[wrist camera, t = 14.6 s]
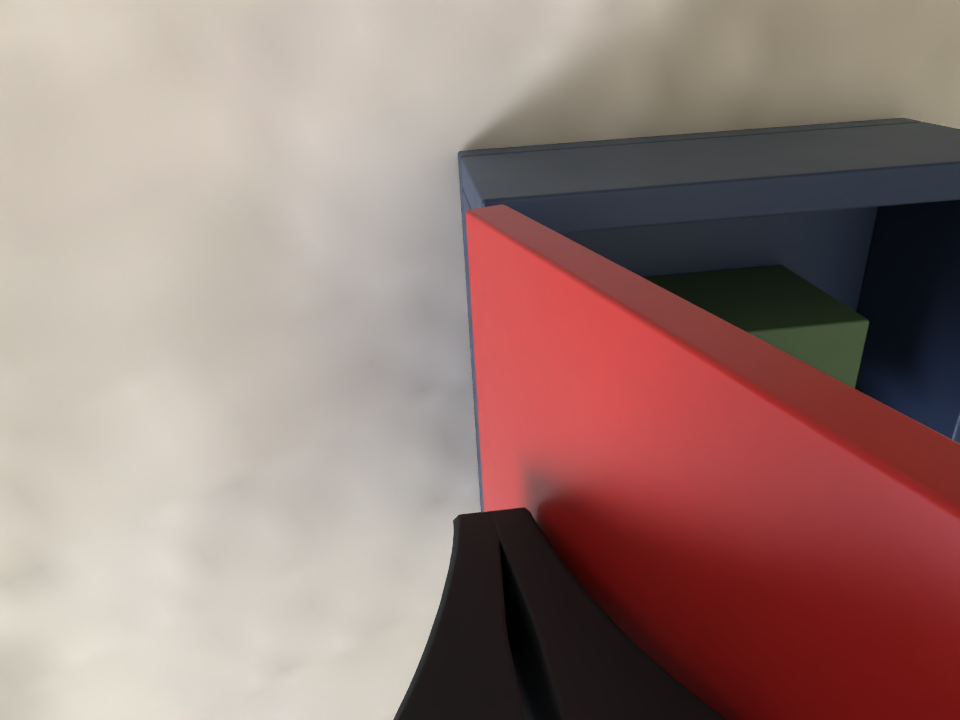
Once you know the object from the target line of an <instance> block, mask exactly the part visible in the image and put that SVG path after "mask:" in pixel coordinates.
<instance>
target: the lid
mask: <svg viewBox="0 0 960 720" xmlns="http://www.w3.org/2000/svg"><path fill="white" fill-rule="evenodd" d="M466 228H467V244H468V260H469V276H470V292H471V308H472V324H473V340H474V356H475V372H476V388H477V404H478V420H479V436H480V451H481V467H482V483H483V499H484V512H487V511H496V510H504V509H513V508H522V507H525V508H526V509H527V510H529V511H530V512H531V514H532V516H533V518H534V519H535V521H536V523H537V524H538V526H539V528H540V529H541V531H542V532H543V534H544V535H545V537H546V538H547V540H548V541H549V543H550V544H551V546H552V547H553V549H554V550H555V551H556V553H557V554H558V556H559V557H560V558H561V560H562V561H563V562H564V564H565V565H566V566H567V568H568V569H569V570H570V571H571V573H572V574H573V575H574V576H575V577H576V579H577V580H578V581H579V582H580V584H581V585H582V586H583V587H584V589H585V590H586V591H587V592H588V593H589V595H590V596H591V597H592V598H593V599H594V600H595V602H596V603H597V604H598V605H599V606H600V607H601V608H602V609H603V610H604V612H605V613H606V614H607V615H608V616H609V617H610V618H611V619H612V620H613V621H614V622H615V623H616V624H617V626H618V627H619V628H620V629H621V630H622V631H623V632H624V633H625V634H626V635H627V636H628V637H629V638H630V639H631V640H632V641H633V642H634V643H635V644H636V645H638V646H639V647H640V648H641V649H642V650H643V651H644V652H645V653H646V654H647V655H648V656H649V657H650V658H651V659H652V660H654V661H655V662H656V663H657V664H658V665H659V666H660V667H662V668H663V669H664V670H665V671H666V672H667V673H668V674H670V675H671V676H672V677H673V678H674V679H675V680H676V681H678V682H679V683H680V684H681V685H683V686H684V687H685V688H687V689H688V690H689V691H690V692H692V693H693V694H694V695H696V696H697V697H698V698H699V699H701V700H702V701H703V702H705V703H706V704H707V705H708V706H710V707H711V708H712V709H714V710H715V711H716V712H718V713H719V714H720V715H721V716H723V717H724V718H725V719H727V720H960V443H958V442H956V441H954V440H952V439H950V438H948V437H946V436H944V435H942V434H940V433H939V432H937V431H935V430H933V429H931V428H929V427H927V426H925V425H923V424H921V423H919V422H918V421H916V420H914V419H912V418H910V417H908V416H906V415H904V414H902V413H900V412H898V411H897V410H895V409H893V408H891V407H889V406H887V405H885V404H883V403H881V402H879V401H878V400H876V399H874V398H872V397H870V396H868V395H866V394H864V393H862V392H860V391H858V390H857V389H855V388H853V387H851V386H849V385H847V384H845V383H843V382H841V381H839V380H837V379H836V378H834V377H832V376H830V375H828V374H826V373H824V372H822V371H820V370H818V369H816V368H815V367H813V366H811V365H809V364H807V363H805V362H803V361H801V360H799V359H797V358H796V357H794V356H792V355H790V354H788V353H786V352H784V351H782V350H780V349H778V348H776V347H775V346H773V345H771V344H769V343H767V342H765V341H763V340H761V339H759V338H757V337H755V336H754V335H752V334H750V333H748V332H746V331H744V330H742V329H740V328H738V327H736V326H734V325H733V324H731V323H729V322H727V321H725V320H723V319H721V318H719V317H717V316H715V315H714V314H712V313H710V312H708V311H706V310H704V309H702V308H700V307H698V306H696V305H694V304H693V303H691V302H689V301H687V300H685V299H683V298H681V297H679V296H677V295H675V294H673V293H672V292H670V291H668V290H666V289H664V288H662V287H660V286H658V285H656V284H654V283H652V282H651V281H649V280H647V279H645V278H643V277H641V276H639V275H637V274H635V273H633V272H632V271H630V270H628V269H626V268H624V267H622V266H620V265H618V264H616V263H614V262H612V261H611V260H609V259H607V258H605V257H603V256H601V255H599V254H597V253H595V252H593V251H591V250H590V249H588V248H586V247H584V246H582V245H580V244H578V243H576V242H574V241H572V240H570V239H569V238H567V237H565V236H563V235H561V234H559V233H557V232H555V231H553V230H551V229H550V228H548V227H546V226H544V225H542V224H540V223H538V222H536V221H534V220H532V219H530V218H529V217H527V216H525V215H523V214H521V213H519V212H517V211H515V210H513V209H511V208H509V207H508V206H506V205H503V204H501V205H495V206H489V207H482V208H476V209H469V210H468V211H466Z"/></svg>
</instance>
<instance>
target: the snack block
mask: <svg viewBox="0 0 960 720" xmlns="http://www.w3.org/2000/svg"><path fill="white" fill-rule="evenodd" d="M644 278H645V279H647V280H649V281H651V282H652V283H654V284H656V285H658V286H660V287H662V288H664V289H666V290H668V291H670V292H672V293H673V294H675V295H677V296H679V297H681V298H683V299H685V300H687V301H689V302H691V303H693V304H694V305H696V306H698V307H700V308H702V309H704V310H706V311H708V312H710V313H712V314H714V315H715V316H717V317H719V318H721V319H723V320H725V321H727V322H729V323H731V324H733V325H734V326H736V327H738V328H740V329H742V330H744V331H746V332H748V333H750V334H752V335H754V336H755V337H757V338H759V339H761V340H763V341H765V342H767V343H769V344H771V345H773V346H775V347H776V348H778V349H780V350H782V351H784V352H786V353H788V354H790V355H792V356H794V357H796V358H797V359H799V360H801V361H803V362H805V363H807V364H809V365H811V366H813V367H815V368H816V369H818V370H820V371H822V372H824V373H826V374H828V375H830V376H832V377H834V378H836V379H837V380H839V381H841V382H843V383H845V384H847V385H849V386H851V387H853V388H855V385H856V381H857V376H858V372H859V367H860V363H861V358H862V353H863V349H864V344H865V340H866V335H867V331H868V326H869V320H868V319H866V318H865V317H863V316H862V315H860V314H858V313H857V312H855V311H854V310H852V309H851V308H849V307H848V306H846V305H844V304H843V303H841V302H840V301H838V300H837V299H835V298H833V297H832V296H830V295H829V294H827V293H826V292H824V291H822V290H821V289H819V288H818V287H816V286H815V285H813V284H812V283H810V282H808V281H807V280H805V279H804V278H802V277H801V276H799V275H797V274H796V273H794V272H793V271H791V270H790V269H788V268H787V267H785V266H783V265H776V266H765V267H754V268H743V269H732V270H721V271H710V272H699V273H688V274H677V275H666V276H655V277H644Z"/></svg>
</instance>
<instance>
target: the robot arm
mask: <svg viewBox="0 0 960 720" xmlns="http://www.w3.org/2000/svg"><path fill="white" fill-rule="evenodd" d="M453 523H454V537H453V547H452V554H451V559H450V565H449V570H448V574H447V578H446V582H445V586H444V590H443V594H442V598H441V602H440V605H439V609H438V612H437V615H436V618H435V621H434V624H433V627H432V630H431V633H430V636H429V639H428V642H427V644H426V647H425V650H424V652H423V655H422V657H421V660H420V662H419V665H418V667H417V670H416V672H415V674H414V677H413V679H412V681H411V684H410V686H409V688H408V690H407V693H406V695H405V697H404V699H403V701H402V703H401V705H400V707H399V709H398V711H397V713H396V715H395V717H394V719H393V720H727V719H725V718H724V717H723V716H721V715H720V714H719V713H718V712H716V711H715V710H714V709H712V708H711V707H710V706H708V705H707V704H706V703H705V702H703V701H702V700H701V699H699V698H698V697H697V696H696V695H694V694H693V693H692V692H690V691H689V690H688V689H687V688H685V687H684V686H683V685H681V684H680V683H679V682H678V681H676V680H675V679H674V678H673V677H672V676H671V675H670V674H668V673H667V672H666V671H665V670H664V669H663V668H662V667H660V666H659V665H658V664H657V663H656V662H655V661H654V660H652V659H651V658H650V657H649V656H648V655H647V654H646V653H645V652H644V651H643V650H642V649H641V648H640V647H639V646H638V645H636V644H635V643H634V642H633V641H632V640H631V639H630V638H629V637H628V636H627V635H626V634H625V633H624V632H623V631H622V630H621V629H620V628H619V627H618V626H617V624H616V623H615V622H614V621H613V620H612V619H611V618H610V617H609V616H608V615H607V614H606V613H605V612H604V610H603V609H602V608H601V607H600V606H599V605H598V604H597V603H596V602H595V600H594V599H593V598H592V597H591V596H590V595H589V593H588V592H587V591H586V590H585V589H584V587H583V586H582V585H581V584H580V582H579V581H578V580H577V579H576V577H575V576H574V575H573V574H572V573H571V571H570V570H569V569H568V568H567V566H566V565H565V564H564V562H563V561H562V560H561V558H560V557H559V556H558V554H557V553H556V551H555V550H554V549H553V547H552V546H551V544H550V543H549V541H548V540H547V538H546V537H545V535H544V534H543V532H542V531H541V529H540V528H539V526H538V524H537V523H536V521H535V519H534V518H533V516H532V514H531V512H530V511H529V510H527V509H526V508H525V507H522V508H513V509H504V510H496V511H487V512H479V513H470V514H461V515H458V516H457V517H456V518H455V519H454V520H453Z"/></svg>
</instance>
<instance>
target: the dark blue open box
mask: <svg viewBox="0 0 960 720" xmlns="http://www.w3.org/2000/svg"><path fill="white" fill-rule="evenodd" d="M458 164H459V179H460V194H461V210H462V225H463V240H464V256H465V271H466V287H467V302H468V317H469V333H470V348H471V363H472V379H473V394H474V409H475V425H476V440H477V456H478V471H479V486H480V502H481V512H484V499H483V483H482V467H481V451H480V436H479V420H478V404H477V388H476V372H475V356H474V340H473V324H472V308H471V292H470V276H469V260H468V244H467V228H466V211H468V210H469V209H476V208H482V207H489V206H495V205H501V204H503V205H506V206H508V207H509V208H511V209H513V210H515V211H517V212H519V213H521V214H523V215H525V216H527V217H529V218H530V219H532V220H534V221H536V222H538V223H540V224H542V225H544V226H546V227H548V228H550V229H551V230H553V231H555V232H557V233H559V234H561V235H563V236H565V237H567V238H569V239H570V240H572V241H574V242H576V243H578V244H580V245H582V246H584V247H586V248H588V249H590V250H591V251H593V252H595V253H597V254H599V255H601V256H603V257H605V258H607V259H609V260H611V261H612V262H614V263H616V264H618V265H620V266H622V267H624V268H626V269H628V270H630V271H632V272H633V273H635V274H637V275H639V276H641V277H643V278H644V277H655V276H666V275H677V274H688V273H699V272H710V271H721V270H732V269H743V268H754V267H765V266H776V265H783V266H785V267H787V268H788V269H790V270H791V271H793V272H794V273H796V274H797V275H799V276H801V277H802V278H804V279H805V280H807V281H808V282H810V283H812V284H813V285H815V286H816V287H818V288H819V289H821V290H822V291H824V292H826V293H827V294H829V295H830V296H832V297H833V298H835V299H837V300H838V301H840V302H841V303H843V304H844V305H846V306H848V307H849V308H851V309H852V310H854V311H855V312H857V313H858V314H860V315H862V316H863V317H865V318H866V319H868V320H869V326H868V331H867V335H866V340H865V344H864V349H863V353H862V358H861V363H860V367H859V372H858V376H857V381H856V385H855V389H857V390H858V391H860V392H862V393H864V394H866V395H868V396H870V397H872V398H874V399H876V400H878V401H879V402H881V403H883V404H885V405H887V406H889V407H891V408H893V409H895V410H897V411H898V412H900V413H902V414H904V415H906V416H908V417H910V418H912V419H914V420H916V421H918V422H919V423H921V424H923V425H925V426H927V427H929V428H931V429H933V430H935V431H937V432H939V433H940V434H942V435H944V436H946V437H948V438H950V439H952V440H954V441H956V442H958V443H960V129H955V128H950V127H945V126H940V125H935V124H930V123H925V122H920V121H915V120H910V119H906V118H897V119H884V120H870V121H857V122H843V123H830V124H817V125H803V126H790V127H776V128H763V129H750V130H736V131H723V132H710V133H696V134H683V135H669V136H656V137H643V138H629V139H616V140H602V141H589V142H576V143H562V144H549V145H535V146H522V147H509V148H495V149H482V150H468V151H460V152H458Z"/></svg>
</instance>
